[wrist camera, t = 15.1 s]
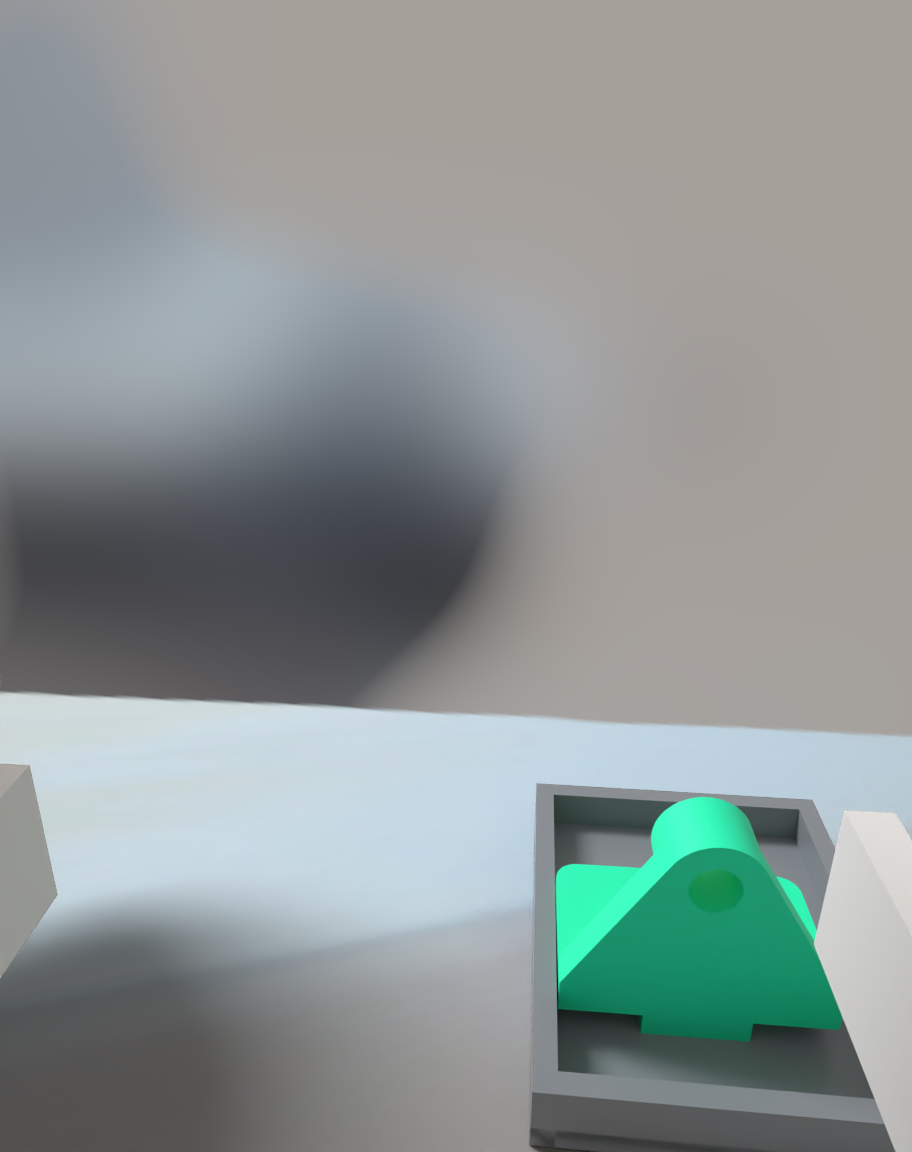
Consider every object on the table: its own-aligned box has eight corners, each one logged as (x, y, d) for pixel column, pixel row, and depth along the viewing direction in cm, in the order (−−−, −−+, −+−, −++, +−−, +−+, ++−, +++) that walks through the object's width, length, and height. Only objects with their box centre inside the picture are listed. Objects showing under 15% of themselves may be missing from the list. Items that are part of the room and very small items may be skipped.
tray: (529, 1145, 34) (532, 1092, 33) (534, 824, 53) (536, 783, 52) (949, 1185, 33) (966, 1131, 32) (804, 841, 51) (812, 799, 50)
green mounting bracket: (788, 917, 44) (820, 747, 41) (835, 1048, 37) (880, 857, 34) (553, 902, 45) (563, 734, 42) (556, 1027, 38) (569, 838, 34)
